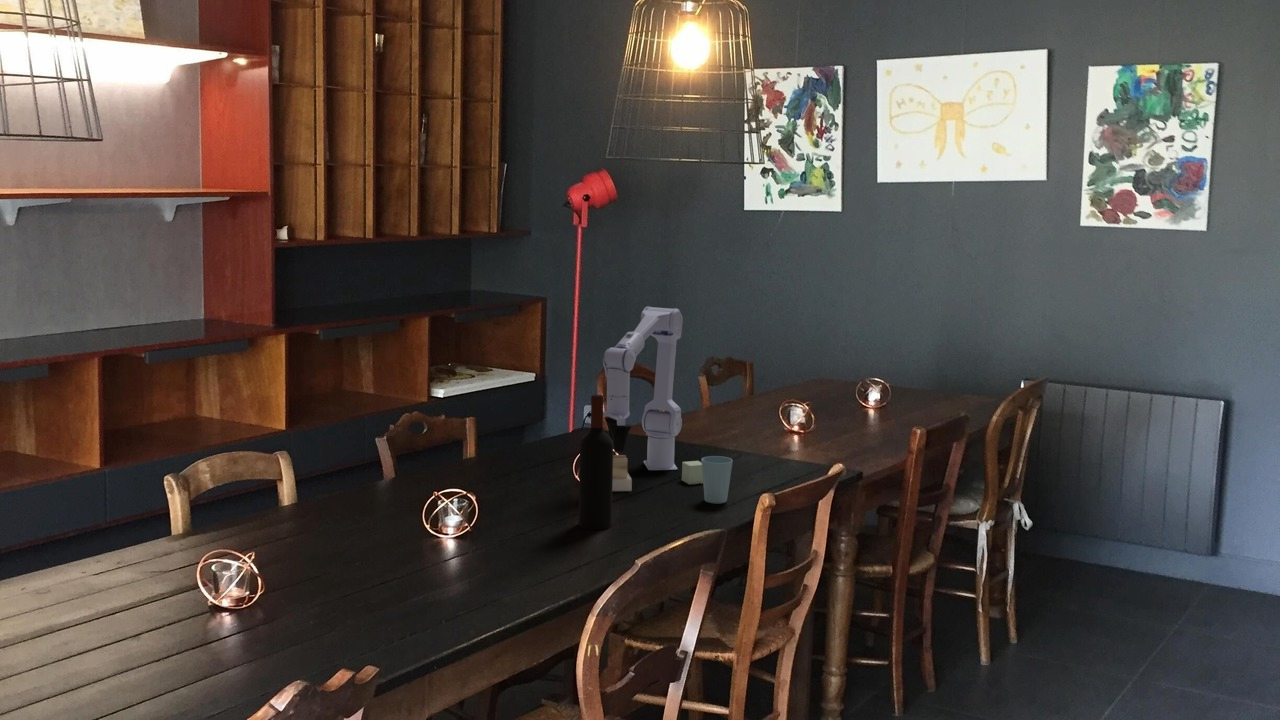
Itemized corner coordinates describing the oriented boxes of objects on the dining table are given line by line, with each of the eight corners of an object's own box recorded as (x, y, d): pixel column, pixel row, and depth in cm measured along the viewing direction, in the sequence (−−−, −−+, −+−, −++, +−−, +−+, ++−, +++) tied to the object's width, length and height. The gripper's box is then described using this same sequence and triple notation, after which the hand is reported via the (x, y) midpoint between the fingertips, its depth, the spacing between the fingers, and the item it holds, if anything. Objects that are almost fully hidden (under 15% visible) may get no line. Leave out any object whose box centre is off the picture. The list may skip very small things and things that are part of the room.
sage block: (681, 480, 323) (682, 462, 322) (697, 479, 325) (697, 460, 324) (689, 484, 319) (689, 465, 318) (704, 483, 321) (705, 464, 320)
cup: (737, 502, 303) (739, 460, 301) (713, 506, 299) (714, 464, 297) (718, 495, 309) (719, 454, 307) (694, 499, 305) (695, 458, 303)
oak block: (607, 474, 316) (607, 455, 315) (624, 473, 316) (625, 454, 315) (609, 478, 311) (609, 459, 310) (627, 478, 312) (627, 458, 311)
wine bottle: (572, 526, 279) (574, 396, 274) (589, 518, 286) (591, 391, 281) (601, 531, 275) (603, 399, 271) (617, 523, 282) (620, 394, 278)
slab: (600, 484, 317) (601, 473, 317) (627, 484, 318) (628, 472, 318) (604, 491, 310) (604, 479, 310) (631, 490, 311) (631, 479, 311)
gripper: (599, 390, 317) (598, 441, 319) (605, 400, 303) (604, 454, 305) (626, 390, 318) (625, 441, 320) (634, 400, 304) (633, 454, 306)
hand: (617, 447), depth 313 cm, fingers open, 7 cm apart
